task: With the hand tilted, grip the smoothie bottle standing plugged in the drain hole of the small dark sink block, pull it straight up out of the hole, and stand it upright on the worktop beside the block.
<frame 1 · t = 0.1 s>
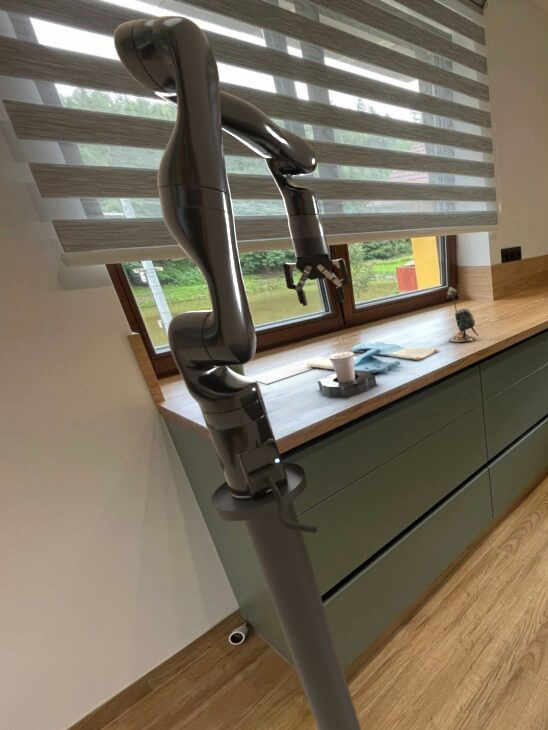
hand: (323, 303, 107), 24 cm above the worktop, tool pointing down, fingers open, 8 cm apart
plant with pod: (464, 341, 158), on the worktop
rubber gloves: (374, 359, 143), on the worktop
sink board: (348, 388, 118), on the worktop
smoothie: (348, 388, 119), resting in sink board
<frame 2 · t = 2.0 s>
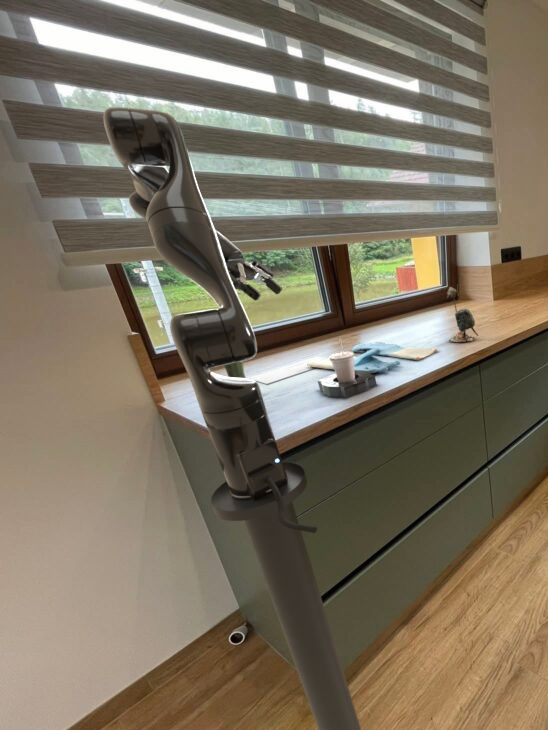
hand: (269, 294, 109), 27 cm above the worktop, tool tilted 45°, fingers open, 8 cm apart
nothing on the worktop moved.
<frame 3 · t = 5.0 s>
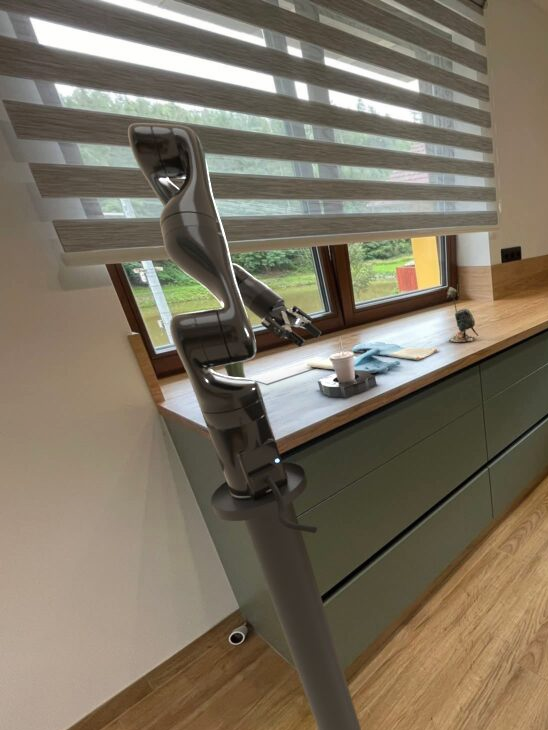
hand: (311, 339, 114), 14 cm above the worktop, tool tilted 45°, fingers open, 8 cm apart
nothing on the worktop moved.
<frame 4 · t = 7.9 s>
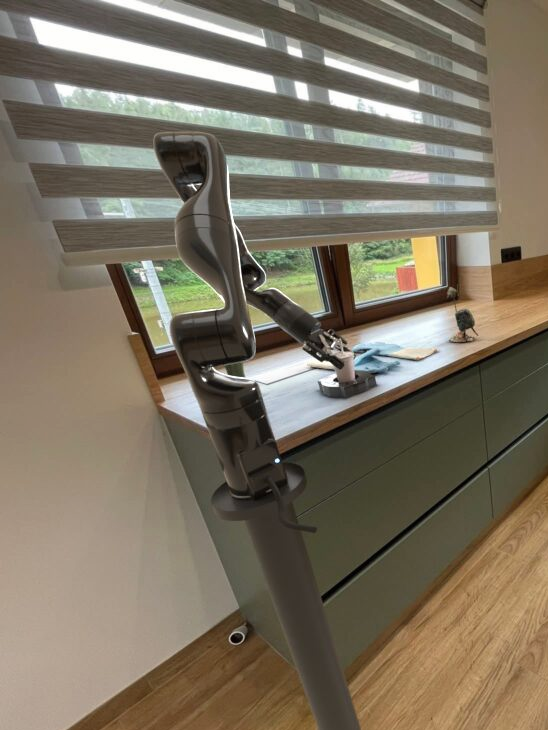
hand: (348, 362, 116), 7 cm above the worktop, tool tilted 45°, fingers closed on smoothie, 6 cm apart
smoothie: (348, 388, 119), resting in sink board, touching gripper
everything else where it was.
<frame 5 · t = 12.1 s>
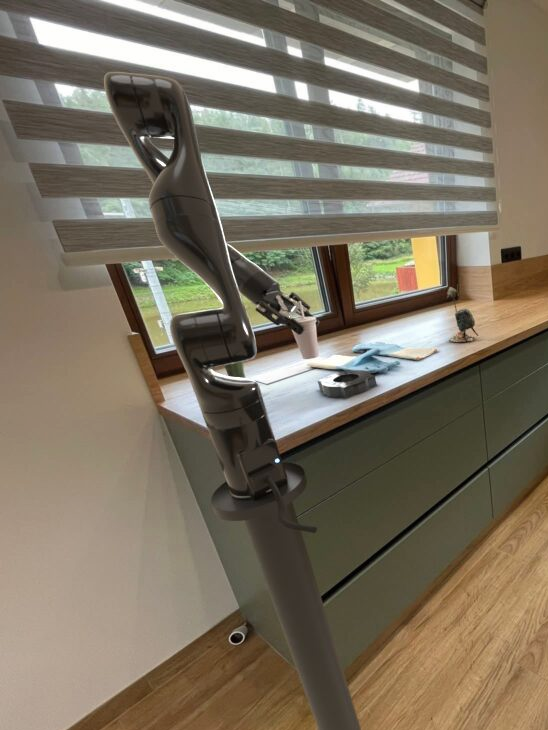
hand: (310, 328, 105), 19 cm above the worktop, tool tilted 45°, fingers closed on smoothie, 6 cm apart
smoothie: (310, 357, 108), point 11 cm above the worktop, touching gripper
everything else where it was.
when the fingers open (7 cm above the worktop, at t = 16.3 s): smoothie stays where it is, on the worktop.
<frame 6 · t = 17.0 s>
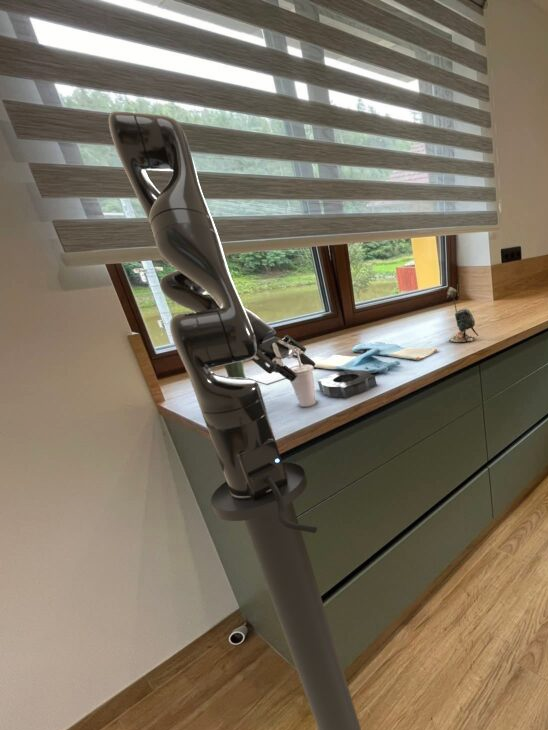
hand: (304, 372, 106), 9 cm above the worktop, tool tilted 45°, fingers open, 8 cm apart
smoothie: (308, 404, 110), on the worktop
everything else where it was.
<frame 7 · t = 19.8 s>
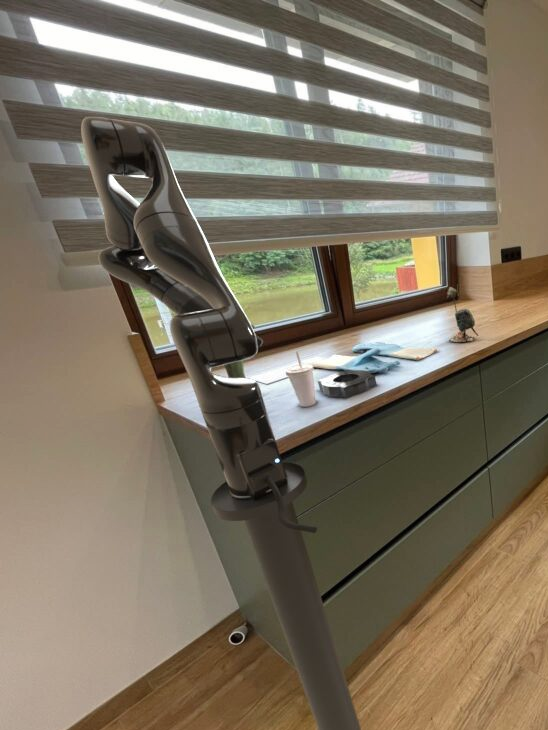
hand: (250, 349, 105), 15 cm above the worktop, tool tilted 45°, fingers open, 8 cm apart
nothing on the worktop moved.
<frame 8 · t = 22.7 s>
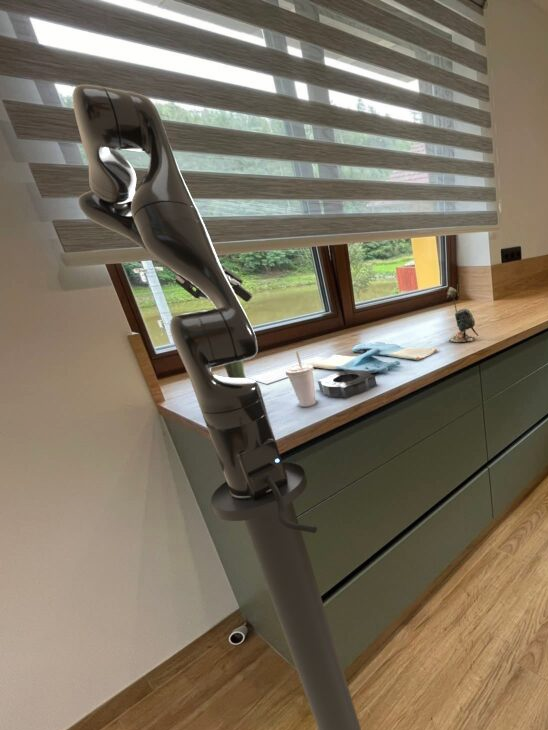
hand: (238, 302, 101), 27 cm above the worktop, tool tilted 45°, fingers open, 8 cm apart
nothing on the worktop moved.
at the end: smoothie inside the target area (0.1 cm from its centre), on the worktop; smoothie tilted 0°; the gripper is holding nothing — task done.
